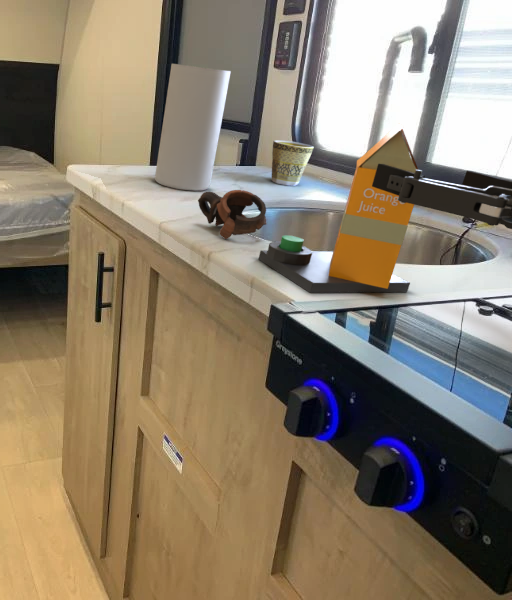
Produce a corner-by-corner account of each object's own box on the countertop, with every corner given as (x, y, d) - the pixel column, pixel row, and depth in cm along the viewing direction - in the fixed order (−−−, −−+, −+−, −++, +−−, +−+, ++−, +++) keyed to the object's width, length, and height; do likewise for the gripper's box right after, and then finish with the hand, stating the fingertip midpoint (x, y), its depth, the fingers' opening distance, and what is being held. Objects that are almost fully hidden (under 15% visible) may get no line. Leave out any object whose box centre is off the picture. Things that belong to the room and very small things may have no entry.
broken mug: (263, 234, 104) (279, 200, 98) (242, 268, 99) (258, 234, 92) (202, 204, 107) (214, 168, 100) (178, 235, 101) (189, 199, 95)
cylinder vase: (153, 176, 141) (170, 63, 132) (206, 183, 141) (226, 70, 132) (155, 186, 130) (173, 63, 120) (212, 194, 130) (234, 71, 120)
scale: (346, 260, 94) (351, 242, 92) (407, 292, 82) (414, 271, 81) (255, 259, 88) (259, 239, 87) (307, 293, 77) (312, 271, 76)
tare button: (292, 247, 87) (295, 235, 86) (304, 253, 84) (307, 242, 84) (275, 246, 86) (278, 235, 85) (286, 253, 83) (289, 241, 83)
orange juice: (386, 270, 86) (430, 127, 78) (388, 289, 78) (438, 132, 70) (329, 258, 88) (367, 118, 80) (326, 275, 80) (368, 122, 73)
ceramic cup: (298, 189, 149) (308, 148, 145) (259, 181, 153) (268, 141, 150) (311, 183, 159) (320, 145, 156) (275, 176, 164) (283, 138, 160)
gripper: (479, 267, 52) (329, 204, 70) (668, 269, 59) (488, 212, 78) (512, 180, 49) (346, 139, 67) (705, 195, 57) (509, 154, 75)
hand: (422, 178), depth 73 cm, fingers open, 13 cm apart
